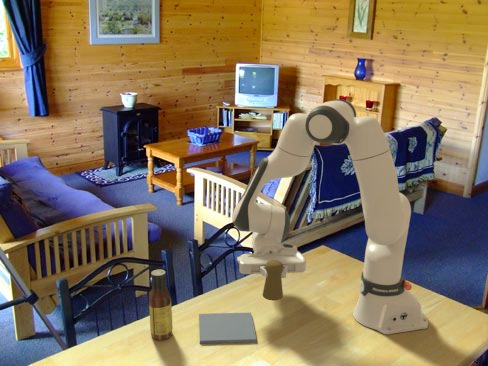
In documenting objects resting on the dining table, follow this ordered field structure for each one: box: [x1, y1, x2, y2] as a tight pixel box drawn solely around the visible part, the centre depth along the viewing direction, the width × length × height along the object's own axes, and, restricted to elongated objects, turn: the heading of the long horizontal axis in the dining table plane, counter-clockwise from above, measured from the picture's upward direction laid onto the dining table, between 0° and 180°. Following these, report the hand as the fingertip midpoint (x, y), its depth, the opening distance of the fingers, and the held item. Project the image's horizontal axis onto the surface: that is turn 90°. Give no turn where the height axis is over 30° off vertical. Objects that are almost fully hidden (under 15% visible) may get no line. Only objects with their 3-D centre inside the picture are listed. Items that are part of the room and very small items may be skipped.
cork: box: [262, 260, 284, 302], centre depth 156 cm, size 6×6×11 cm
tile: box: [198, 312, 257, 345], centre depth 157 cm, size 16×14×1 cm
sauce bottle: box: [148, 269, 173, 341], centre depth 150 cm, size 6×6×20 cm
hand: (275, 275), depth 155 cm, fingers closed on cork, 3 cm apart
